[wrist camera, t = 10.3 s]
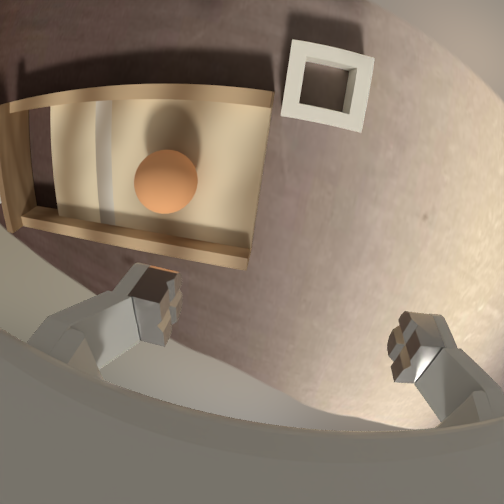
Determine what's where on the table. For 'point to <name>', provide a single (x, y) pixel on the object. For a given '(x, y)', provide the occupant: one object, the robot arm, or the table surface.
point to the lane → (129, 158)
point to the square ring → (355, 89)
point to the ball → (165, 181)
